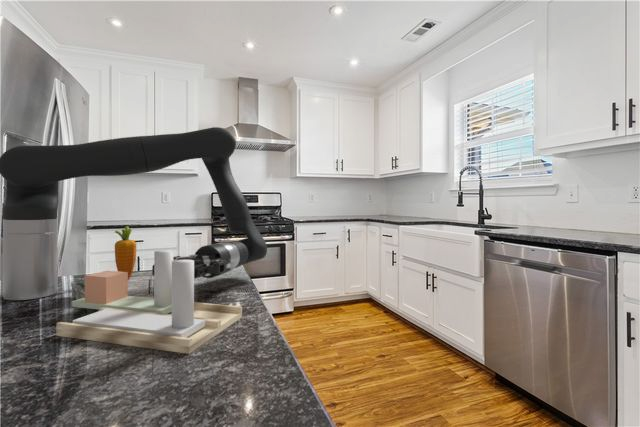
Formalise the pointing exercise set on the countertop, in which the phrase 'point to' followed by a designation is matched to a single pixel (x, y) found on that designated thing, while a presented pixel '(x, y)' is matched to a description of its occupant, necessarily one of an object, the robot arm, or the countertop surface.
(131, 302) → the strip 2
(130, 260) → the carrot
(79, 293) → the egg carton
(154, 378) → the countertop surface
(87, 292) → the cube
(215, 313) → the board
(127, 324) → the strip
